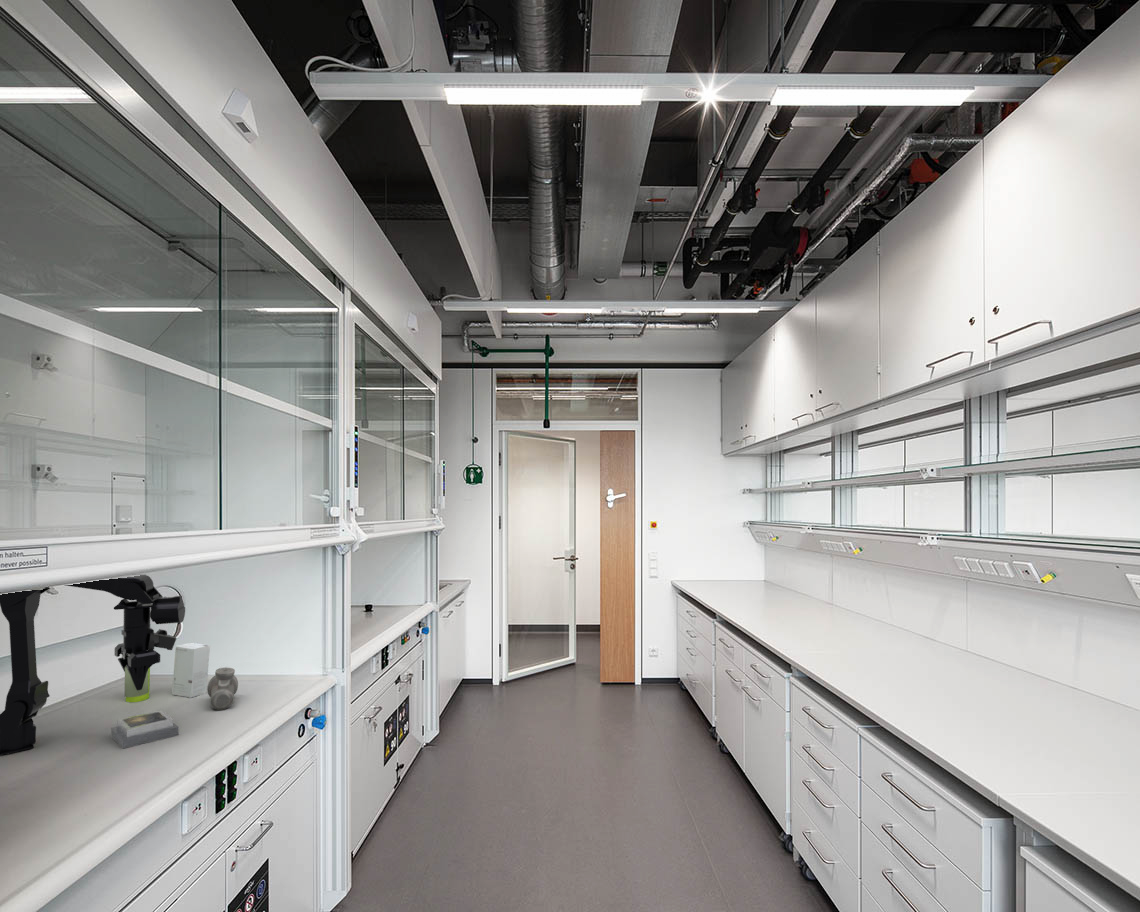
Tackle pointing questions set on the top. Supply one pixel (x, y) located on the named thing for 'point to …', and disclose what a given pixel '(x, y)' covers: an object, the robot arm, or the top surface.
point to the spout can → (130, 687)
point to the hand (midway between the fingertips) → (136, 687)
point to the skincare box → (190, 669)
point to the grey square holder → (143, 729)
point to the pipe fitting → (222, 688)
